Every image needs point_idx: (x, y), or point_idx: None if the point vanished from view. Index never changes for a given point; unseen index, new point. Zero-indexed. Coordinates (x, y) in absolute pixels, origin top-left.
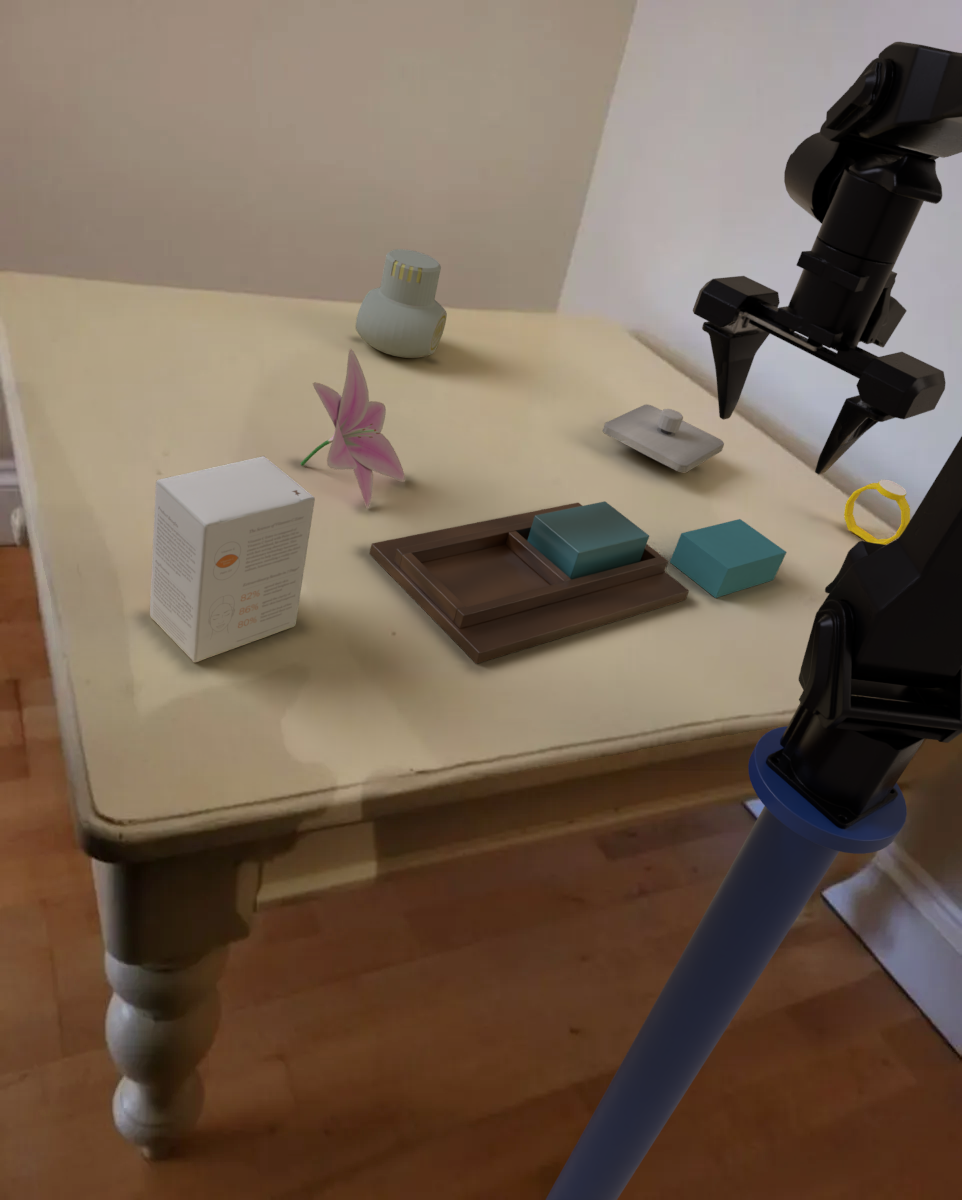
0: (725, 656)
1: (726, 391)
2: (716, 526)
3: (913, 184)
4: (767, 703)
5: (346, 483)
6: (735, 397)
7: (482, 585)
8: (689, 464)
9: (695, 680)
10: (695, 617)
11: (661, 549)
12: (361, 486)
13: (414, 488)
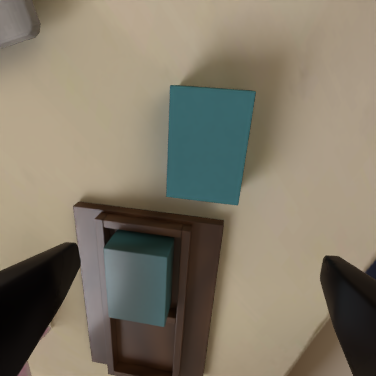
0: (293, 252)
1: (39, 338)
2: (171, 140)
3: None
4: None
5: None
6: (45, 285)
7: (150, 344)
8: (29, 16)
9: (294, 293)
10: (244, 231)
11: (154, 171)
12: None
13: None
